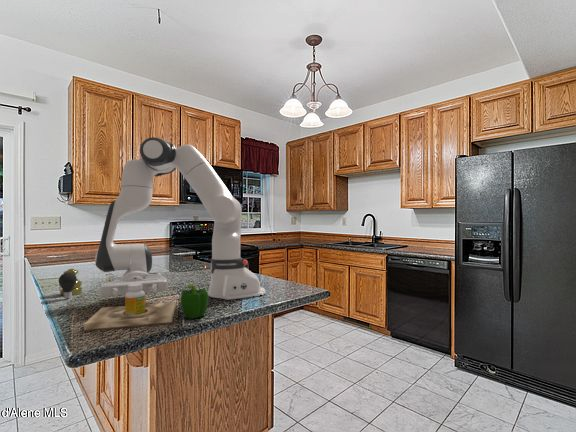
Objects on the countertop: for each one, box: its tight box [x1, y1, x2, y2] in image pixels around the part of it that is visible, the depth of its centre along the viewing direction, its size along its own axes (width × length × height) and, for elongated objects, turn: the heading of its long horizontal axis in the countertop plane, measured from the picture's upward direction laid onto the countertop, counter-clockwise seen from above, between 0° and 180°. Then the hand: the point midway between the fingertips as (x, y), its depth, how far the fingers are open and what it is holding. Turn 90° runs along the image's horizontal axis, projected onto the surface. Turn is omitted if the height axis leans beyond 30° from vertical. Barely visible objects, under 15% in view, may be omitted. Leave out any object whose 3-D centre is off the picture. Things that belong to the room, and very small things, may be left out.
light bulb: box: [58, 272, 78, 300], centre depth 119 cm, size 6×6×10 cm
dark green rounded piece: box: [59, 268, 83, 297], centre depth 127 cm, size 7×8×10 cm
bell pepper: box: [180, 284, 210, 320], centre depth 97 cm, size 8×8×10 cm
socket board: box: [83, 301, 177, 332], centre depth 95 cm, size 22×16×2 cm
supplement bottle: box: [124, 284, 146, 316], centre depth 95 cm, size 5×5×10 cm
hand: (135, 291), depth 99 cm, fingers open, 8 cm apart
